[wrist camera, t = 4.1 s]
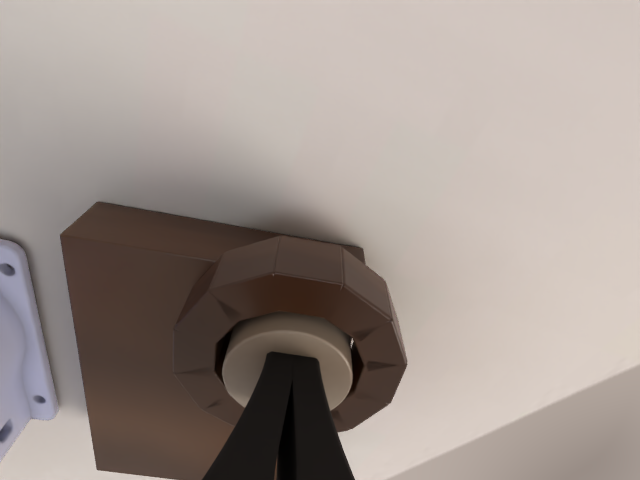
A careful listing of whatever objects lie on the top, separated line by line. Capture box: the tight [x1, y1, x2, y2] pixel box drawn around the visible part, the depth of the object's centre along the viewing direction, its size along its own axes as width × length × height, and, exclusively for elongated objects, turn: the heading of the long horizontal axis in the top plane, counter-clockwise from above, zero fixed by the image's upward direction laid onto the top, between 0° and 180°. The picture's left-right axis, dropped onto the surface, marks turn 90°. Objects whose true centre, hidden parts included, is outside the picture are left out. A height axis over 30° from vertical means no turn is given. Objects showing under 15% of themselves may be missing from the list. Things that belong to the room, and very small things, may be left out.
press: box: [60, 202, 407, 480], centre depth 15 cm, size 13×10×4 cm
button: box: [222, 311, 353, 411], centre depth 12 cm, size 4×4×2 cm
